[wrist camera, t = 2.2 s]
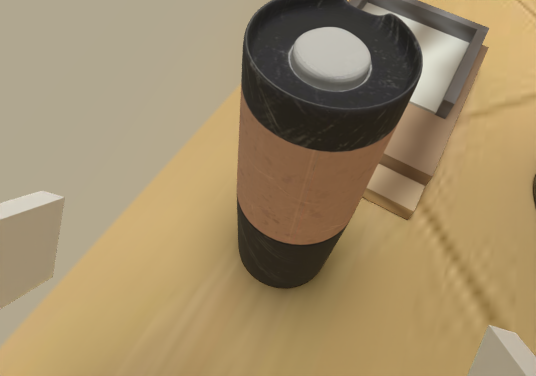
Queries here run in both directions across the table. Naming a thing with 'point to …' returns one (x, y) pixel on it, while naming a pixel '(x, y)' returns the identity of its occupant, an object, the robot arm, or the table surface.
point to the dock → (425, 100)
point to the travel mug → (314, 127)
